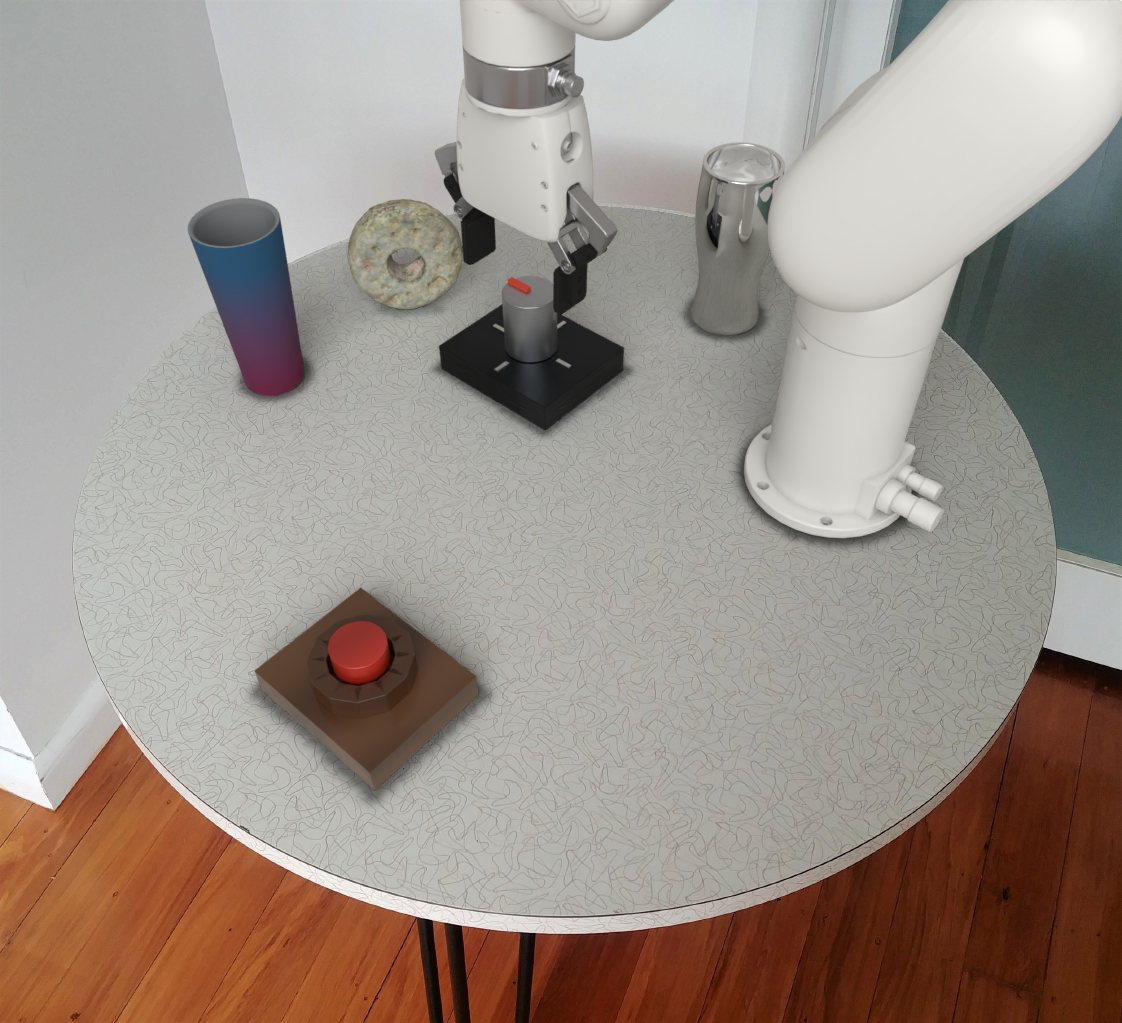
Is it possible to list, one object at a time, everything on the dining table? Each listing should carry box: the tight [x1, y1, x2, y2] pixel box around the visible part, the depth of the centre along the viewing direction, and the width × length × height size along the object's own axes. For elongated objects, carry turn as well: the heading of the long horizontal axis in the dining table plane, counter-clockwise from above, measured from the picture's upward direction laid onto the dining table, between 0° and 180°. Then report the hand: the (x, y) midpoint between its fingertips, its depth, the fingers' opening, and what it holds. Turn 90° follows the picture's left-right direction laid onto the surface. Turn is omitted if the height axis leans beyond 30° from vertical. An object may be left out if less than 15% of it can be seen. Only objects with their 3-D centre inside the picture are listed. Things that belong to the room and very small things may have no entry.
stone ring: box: [346, 198, 463, 310], centre depth 94 cm, size 10×4×10 cm, turn 96°
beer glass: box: [690, 141, 786, 336], centre depth 90 cm, size 7×7×15 cm
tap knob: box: [501, 275, 557, 362], centre depth 87 cm, size 4×4×6 cm
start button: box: [328, 621, 391, 684], centre depth 65 cm, size 4×4×2 cm
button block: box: [254, 587, 479, 791], centre depth 67 cm, size 11×9×4 cm
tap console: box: [438, 303, 625, 431], centre depth 90 cm, size 12×10×3 cm
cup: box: [187, 197, 306, 397], centre depth 85 cm, size 7×7×15 cm
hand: (523, 280), depth 84 cm, fingers open, 9 cm apart
